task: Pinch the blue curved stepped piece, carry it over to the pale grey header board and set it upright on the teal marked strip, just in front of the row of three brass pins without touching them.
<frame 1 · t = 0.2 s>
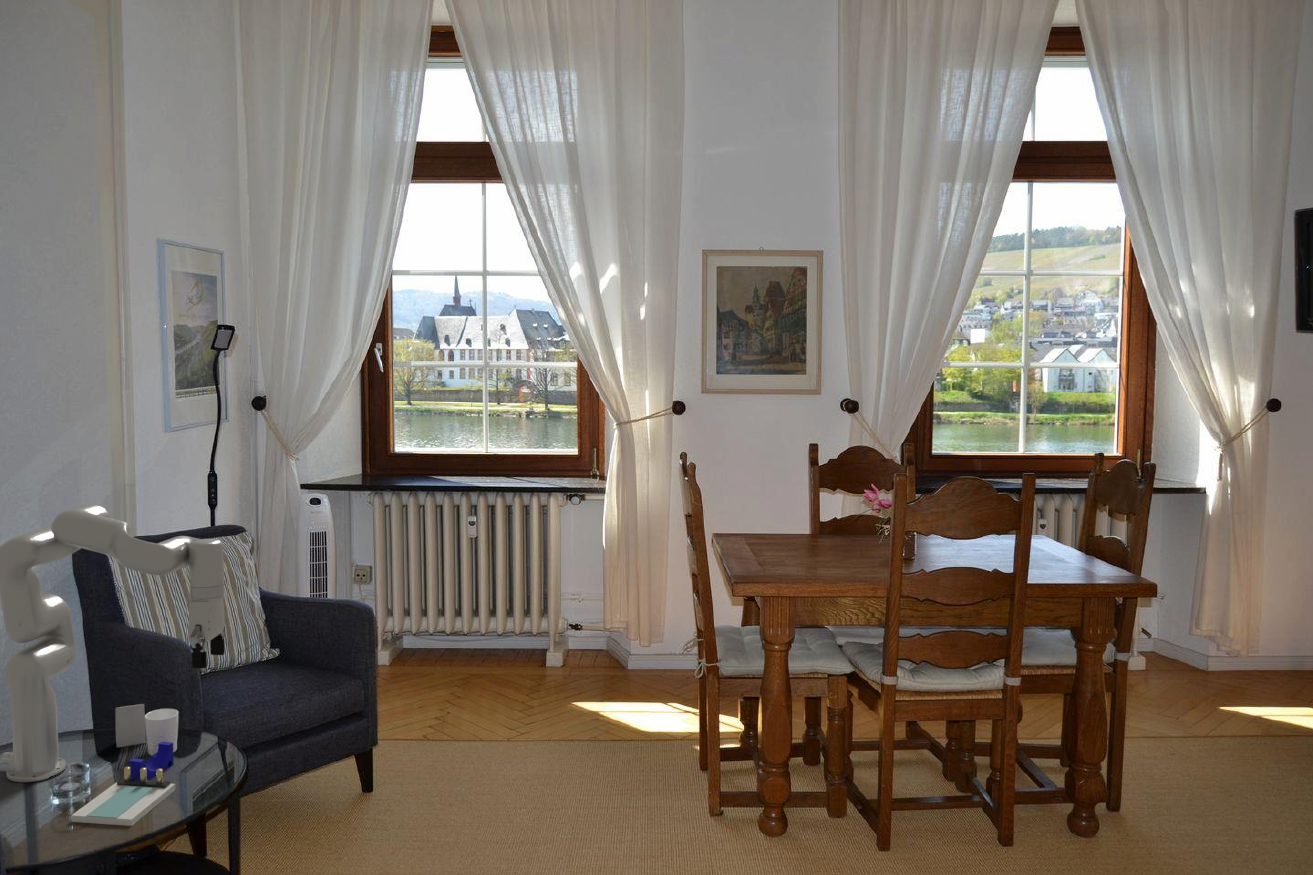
hand: (208, 661, 249), 31 cm above the table, tool pointing down, fingers open, 9 cm apart
pin header: (143, 776, 247), on the header board, point 4 cm above the table
header board: (125, 805, 239), on the table
grey box: (130, 743, 274), on the table
white cup: (162, 751, 269), on the table
blue curved stepped piece: (149, 775, 256), on the table
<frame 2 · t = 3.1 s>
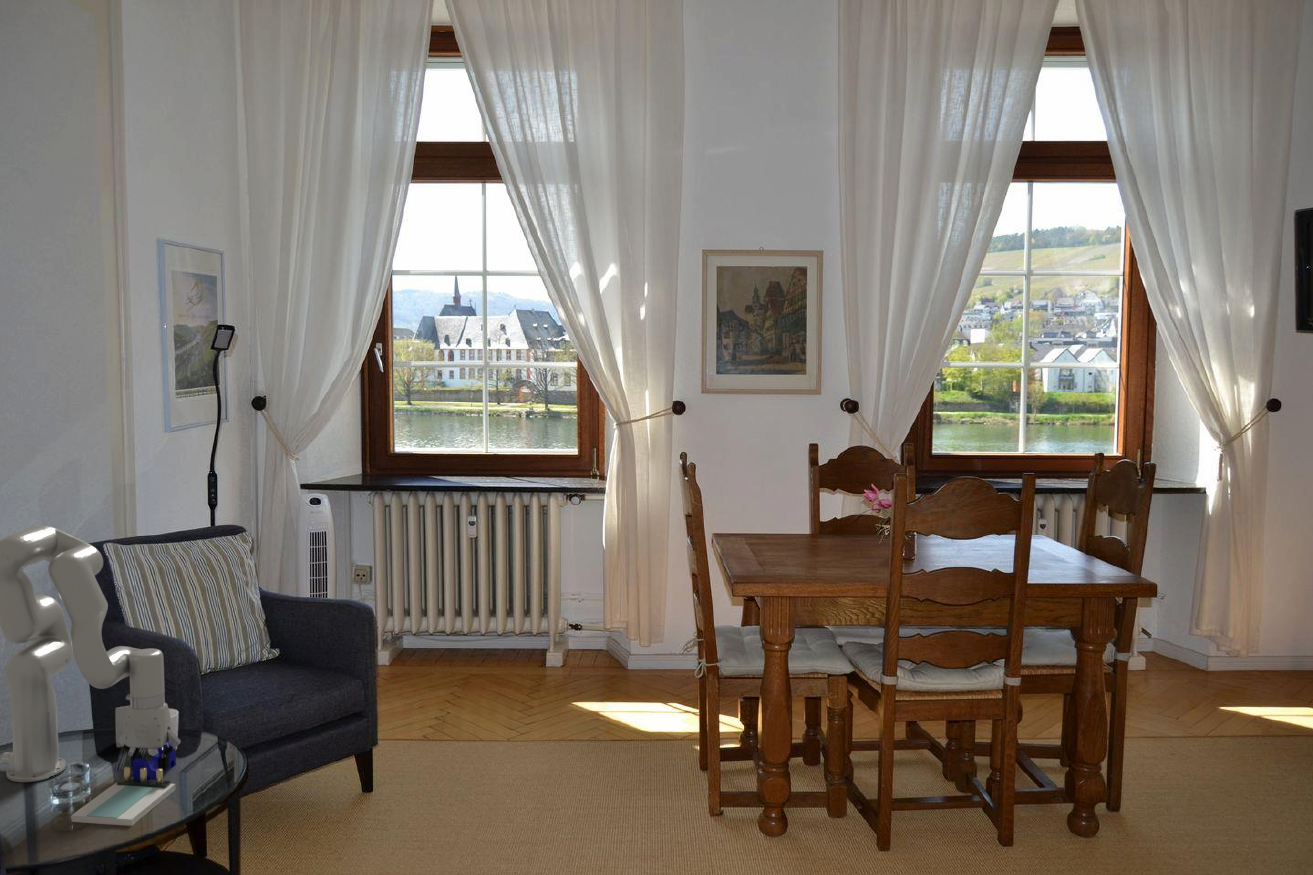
hand: (150, 769, 256), 1 cm above the table, tool pointing down, fingers open, 6 cm apart
blue curved stepped piece: (152, 775, 256), on the table, touching gripper
everything else where it was.
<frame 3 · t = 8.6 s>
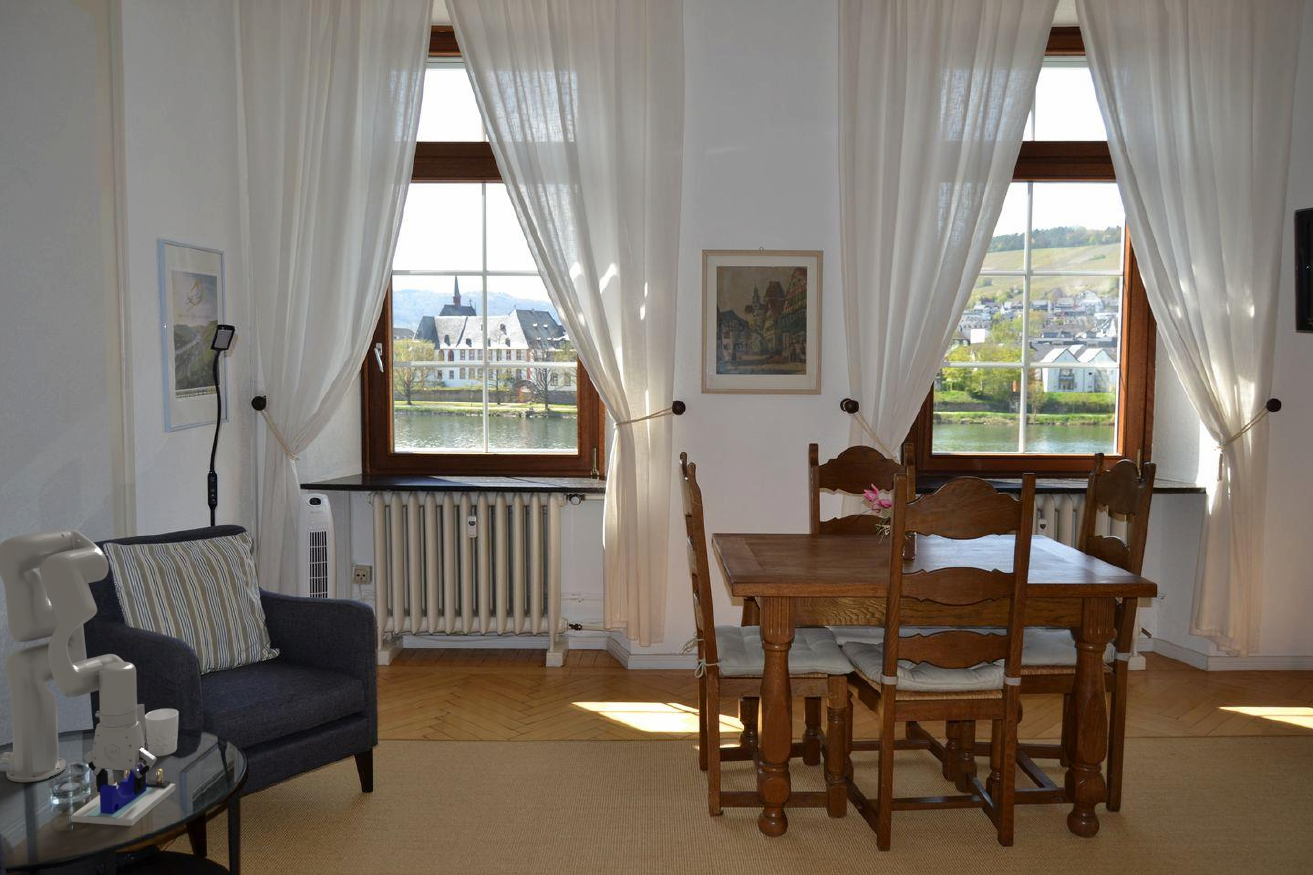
hand: (121, 790, 238), 4 cm above the table, tool pointing down, fingers open, 8 cm apart
blue curved stepped piece: (121, 801, 238), point 1 cm above the table, touching header board
everything else where it was.
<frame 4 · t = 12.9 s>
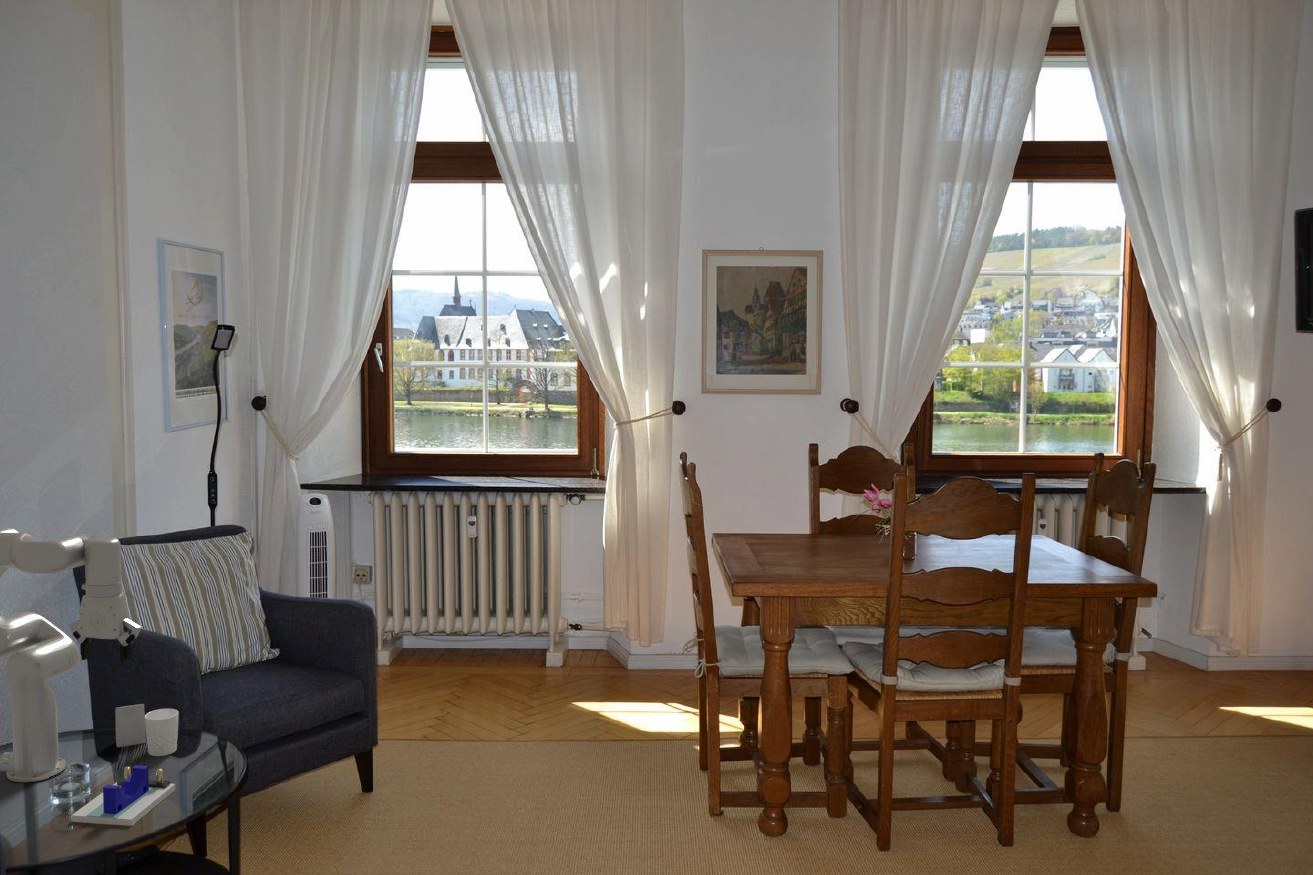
hand: (106, 659, 248), 30 cm above the table, tool pointing down, fingers open, 9 cm apart
nothing on the table moved.
at the end: blue curved stepped piece 0.6 cm from the target spot on the header board, point 1.5 cm above the header board's base; blue curved stepped piece tilted 0°; blue curved stepped piece touching header board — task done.
